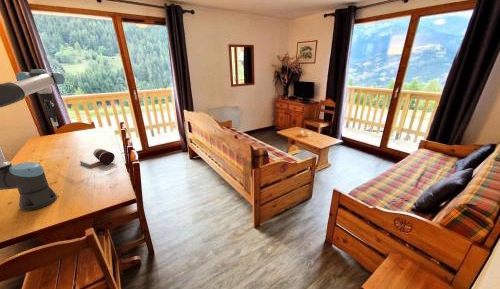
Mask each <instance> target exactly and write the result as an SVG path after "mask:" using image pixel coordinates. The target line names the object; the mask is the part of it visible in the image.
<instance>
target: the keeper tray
mask: <svg viewBox="0 0 500 289" xmlns="http://www.w3.org/2000/svg"><path fill="white" fill-rule="evenodd" d="M79 163H80V165H82V166H85V167H87V168H90V169H92V168H95V167H97V166H100V165H103V164H102V163H101V162H100V161H99V160H98V161H95V162H93V163H88V162H86V161H83V160H80V161H79Z"/></svg>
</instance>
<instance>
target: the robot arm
mask: <svg viewBox="0 0 500 289" xmlns="http://www.w3.org/2000/svg"><path fill="white" fill-rule="evenodd" d="M15 79H16V81H15V82H10V81H9V82H3V83H0V109H1V108H4V107H7V106H10V105H13V104H16V103H19V102H20V101H23V100H24V99H25V98H26V97H27V96H30V95H32V94H34V93H37V94H38V97H39V99H40V100H43V102H42V105H43V107H44V109H45V111H46V113H47V116H48V117H49V118H50V122H51V124H52V127H54V128H55V127H59V122H58V120H57V117H58V115H57V110H56V103H55V102H54V101H53V99H55V95H54V93H53V87H52V86H54V85H55V86H56V85H58V86H59V85H64V84H65V82H66V78H65V76H64V74H63V73H61V72H58V71H53V72H52V71H51V72H50V71H49V72H48V71H47V70H46V69H43V68H41V69H36V68H35V69H33V68H32V69H31V70H30V72H29V71H21V72H18V73H16V74H15ZM14 189H17V192H18V193H19V200H18V207H19V209H20V210H21V211H24V212H27V211H33V210H38V209H41V208H43V207H46V206H49V205H51V204H53V203H54V202H56V200H57V199H58V196H57V193H56V192H55V191H54V190H53V189H52V187H50V185H49V183H48V179H47V177H46V173H45V169H44V168H43V166H42V165H41V163H39V162H34V161H27V162H20V163H16V164H13V165H12V162H11V161H9V160H6V158H5V155H4V153H3V150H2V147H1V146H0V191H6V190H7V191H8V190H14Z"/></svg>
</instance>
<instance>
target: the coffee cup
mask: <svg viewBox="0 0 500 289" xmlns="http://www.w3.org/2000/svg"><path fill="white" fill-rule="evenodd" d="M93 157H95V158H96V159H97V160H98V162H99V161H100V162H101V163H102V164H101V165H104V166H105V165H110V164H112V162H114V161H115V158H116V156H115V154H114V153H113V152H111V151H108V150H106V149H103V148H95V150H94V151H93Z"/></svg>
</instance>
